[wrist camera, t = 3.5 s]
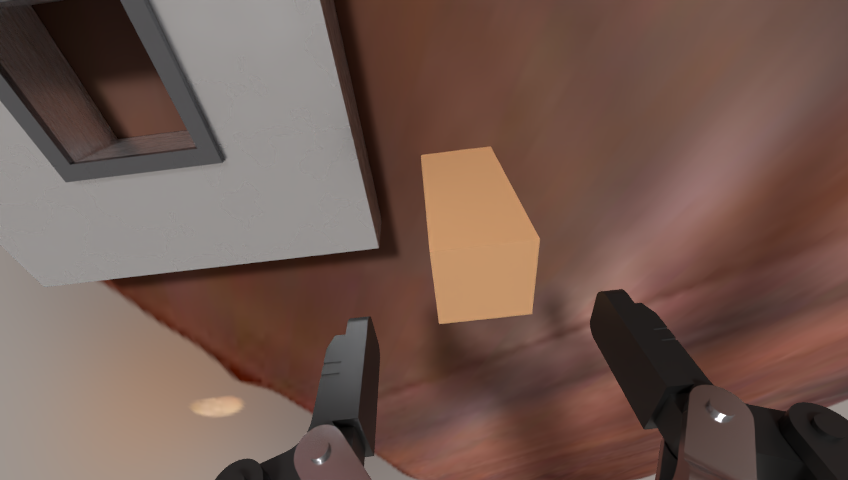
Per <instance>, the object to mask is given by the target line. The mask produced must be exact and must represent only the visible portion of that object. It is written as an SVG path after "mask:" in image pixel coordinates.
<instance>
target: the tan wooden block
mask: <svg viewBox="0 0 848 480" xmlns="http://www.w3.org/2000/svg"><path fill="white" fill-rule="evenodd" d="M421 162H422V173H423V184H424V194H425V205H426V216H427V227H428V238H429V248H430V257H431V265H432V272H433V280H434V288H435V296H436V303H437V311H438V319H439V324H444V323H453V322H462V321H472V320H481V319H490V318H499V317H508V316H518V315H527V314H532V308H533V299H534V289H535V280H536V271H537V261H538V252H539V242H540V239H539V237H538V235H537V233H536V231H535V229H534V227H533V225H532V224H531V222H530V220H529V218H528V216H527V214H526V212H525V210H524V209H523V207H522V205H521V203H520V201H519V199H518V197H517V195H516V193H515V192H514V190H513V188H512V186H511V184H510V182H509V180H508V178H507V177H506V175H505V173H504V171H503V169H502V167H501V165H500V163H499V161H498V160H497V158H496V156H495V154H494V152H493V150H492V148H491V147H482V148H474V149H466V150H458V151H450V152H442V153H434V154H426V155H421Z"/></svg>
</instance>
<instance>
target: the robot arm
mask: <svg viewBox="0 0 848 480" xmlns="http://www.w3.org/2000/svg"><path fill="white" fill-rule="evenodd" d="M590 328H591V333H592V335H593V338H594V340H595V342H596V343H597V345H598V347H599V349H600V351H601V352H602V354H603V356H604V358H605V360H606V361H607V363H608V365H609V367H610V369H611V371H612V372H613V374H614V376H615V378H616V380H617V381H618V383H619V385H620V387H621V389H622V391H623V392H624V394H625V396H626V398H627V400H628V401H629V403H630V405H631V407H632V409H633V410H634V412H635V414H636V416H637V418H638V420H639V421H640V423H641V425H642V427H643V429H653V428H658V429H659V431H660V433H661V434H662V436H663V437H662V439H661V443H660V450H659V457H658V464H657V470H656V477H655V480H848V420H847V419H845V418H844V417H842V416H841V415H839V414H838V413H836V412H834V411H832V410H830V409H828V408H826V407H823V406H820V405H817V404H813V403H806V402H802V403H797V404H794V405H793V406H791V407H790V408H789V409H788V410H787V412H785V411H780V410H775V409H769V408H764V407H759V406H753V405H749V404H745V403H744V402H743V401H742V400H741V399H739V398H738V397H737V396H735V395H734V394H732V393H731V392H729V391H727V390H725V389H723V388H720V387H717V386H714V385H713V384H712V383H711V382H710V381H709V380H708V378H707V377H706V376H705V375H704V373H703V372H702V371H701V369H700V368H699V367H698V366H697V364H696V363H695V362H694V361H693V359H692V358H691V357H690V355H689V354H688V353H687V352H686V350H685V349H684V348H683V347H682V345H681V344H680V343H679V342H678V340H676V339H675V336H674V335H673V334H672V333H671V331H670V330H669V329H667V326H666V325H665V324H664V322H663V321H662V320H661V319H660V317H659V316H658V315H657V314H656V313H655V312H654V311H652V310H651V309H649V308H648V307H647V306H645V305H644V304H642V303H634V302H633V301H632V299H631V298H630V296H629V295H628V294H627V293H626V292H625V291H624V290H622V289H619V290H610V291H601V292H598V294H597V296H596V300H595V304H594V308H593V312H592V316H591V320H590ZM379 366H380V351H379V344H378V340H377V336H376V333H375V329H374V326H373V322H372V319H371V317H361V318H352V319H349V320H348V324H347V330H346V335H337V336H335V337H334V338H333V340H332V341H331V343H330V345H329V346H328V348H327V350H326V355H325V359H324V366H323V369H322V374H321V376H322V377H321V378H320V383H319V388H318V393H317V398H316V402H315V407H314V412H313V417H312V421H311V425H310V427H309V430H308V431H307V433H306V434H305V435H304V436H303V438H302V439H301V440H300V441H299V443H298V444H297V445H296V446H295V447H293V448H292V449H290V450H288V451H287V452H285V453H282V454H280V455H278V456H276V457H274V458H271V459H269V460H267V461H265V462H263V463H261V464H259V463H258V462H256V461H255V460H253V459H242V460H238V461H236V462H234V463H232V464H231V465H229V466H228V467H226V468H225V469H224V470H223V471H222V472H221V473H220V474H219V475H218V476H217V478H216V479H215V480H372V479H371V478H370V476H369V475H368V473H367V472H366V470H365V468H364V459H365V457H369V456H374V449H375V432H376V416H377V399H378V382H379Z"/></svg>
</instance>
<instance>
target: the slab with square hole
mask: <svg viewBox="0 0 848 480" xmlns="http://www.w3.org/2000/svg"><path fill="white" fill-rule="evenodd" d="M56 1H63V0H0V245H1V246H2V247H3V248H4V249H5V250H6V251H7V252H8V253H9V254H10V255H11V256H12V257H13V258H14V259H16V261H18V262H19V263H20V264H21V265H22V266H23V267H24V268H25V269H26V270H27V271H28V272H29V273H30V274H31V275H32V276H34V278H36V280H37V281H38V282H40V283H41V284H42V285H43V286H44V287H48V286H57V285H64V284H74V283H83V282H91V281H100V280H109V279H117V278H126V277H135V276H143V275H152V274H161V273H169V272H178V271H186V270H195V269H204V268H212V267H221V266H230V265H238V264H247V263H255V262H264V261H273V260H281V259H290V258H299V257H307V256H316V255H324V254H333V253H342V252H350V251H359V250H368V249H376V248H379V243H380V233H381V223H382V219H381V214H380V209H379V205H378V200H377V196H376V191H375V187H374V182H373V177H372V173H371V168H370V164H369V159H368V155H367V150H366V145H365V141H364V136H363V132H362V127H361V123H360V118H359V113H358V109H357V104H356V100H355V95H354V91H353V86H352V81H351V77H350V72H349V68H348V63H347V59H346V54H345V50H344V45H343V40H342V36H341V31H340V27H339V22H338V18H337V13H336V8H335V4H334V0H120V1H121V3H122V5H123V7H124V9H125V11H126V13H127V14H128V16H129V18H130V20H131V22H132V24H133V26H134V28H135V30H136V32H137V34H138V36H139V38H140V39H141V41H142V43H143V45H144V47H145V49H146V51H147V53H148V55H149V57H150V59H151V61H152V63H153V65H154V66H155V68H156V70H157V72H158V74H159V76H160V78H161V80H162V82H163V84H164V86H165V88H166V90H167V92H168V93H169V95H170V97H171V99H172V101H173V103H174V105H175V107H176V109H177V111H178V113H179V115H180V117H181V119H182V120H183V122H184V124H185V126H186V128H187V130H186V131H178V132H170V133H162V134H155V135H147V136H139V137H131V138H123V139H117V137H116V136H115V134H114V133H113V131H112V129H111V128H110V126H109V125H108V123H107V122H106V120H105V119H104V117H103V116H102V114H101V112H100V111H99V109H98V108H97V106H96V105H95V103H94V102H93V100H92V99H91V97H90V96H89V94H88V92H87V91H86V89H85V88H84V86H83V85H82V83H81V82H80V80H79V79H78V77H77V75H76V74H75V72H74V71H73V69H72V68H71V66H70V65H69V63H68V62H67V60H66V59H65V57H64V55H63V54H62V52H61V51H60V49H59V48H58V46H57V45H56V43H55V42H54V40H53V38H52V37H51V35H50V34H49V32H48V31H47V29H46V28H45V26H44V25H43V23H42V22H41V20H40V18H39V17H38V15H37V14H36V12H35V11H34V9H33V8H32V6H31V5H35V4H42V3H49V2H56Z"/></svg>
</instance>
